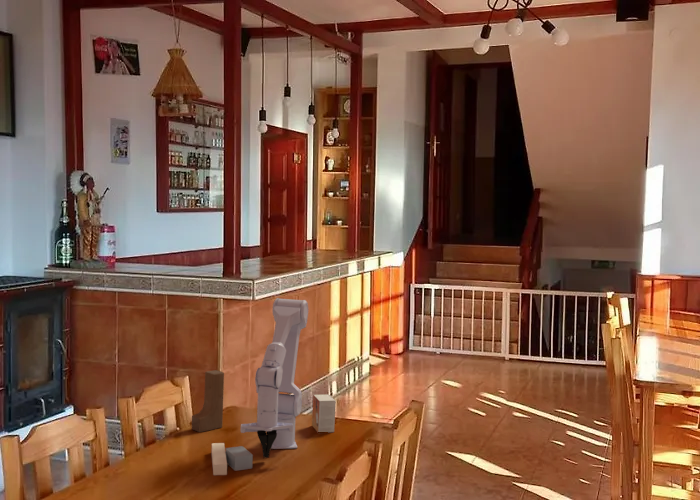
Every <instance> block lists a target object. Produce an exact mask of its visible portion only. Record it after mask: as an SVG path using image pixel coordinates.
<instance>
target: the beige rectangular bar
mask: <svg viewBox="0 0 700 500" xmlns="http://www.w3.org/2000/svg"><path fill="white" fill-rule="evenodd" d="M225 452H226V447H225V442H215V443H214V442H213V443H211V463H212V475H213V476H227V475H228V464H227V460H226V453H225Z"/></svg>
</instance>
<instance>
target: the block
mask: <svg viewBox="0 0 700 500" xmlns="http://www.w3.org/2000/svg"><path fill="white" fill-rule="evenodd" d="M225 453H226V460H227V466H229V467H231V469H232V470H233V471H243V470H248V469H253V457H254V455H253V454H252V453H251V452H250V451H249V450H247V449H246V448H245V447H244V446H243V445H239V446H232V447H225Z"/></svg>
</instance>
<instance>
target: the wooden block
mask: <svg viewBox="0 0 700 500" xmlns="http://www.w3.org/2000/svg"><path fill="white" fill-rule="evenodd" d="M224 382H225V373H224V372H223V371H220V370H216V369H215V370H207V371H205V372H204V394H203V395H204V396H203V397H204V399H203V400H204V401H203V404H202V409H201V410H200V411H199V412H198V413H196V414H193V415H191V430H192V431H196V432H197V433H202V432H207V431H208V432H209V431H211V430H218V429H220V428H222V427H223V422H224V421H223V417H224V388H225V387H224V386H225V385H224V384H225V383H224Z"/></svg>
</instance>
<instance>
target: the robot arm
mask: <svg viewBox="0 0 700 500" xmlns="http://www.w3.org/2000/svg"><path fill="white" fill-rule="evenodd" d="M308 304H309V303H308V301H307V300H306V299H303V300H302V299H288V298H280V297H276V299H275V300H274V301H273V304H272V316H273V319H274V320H273V321H274V322H275V325H274V331H273V336H272V341H271V343H269V344H268V345H267V347H266V349H265V353H264V356H263V360H262V362H261V366H260V367H258V368H257V369H256V371H255V377H254V382H255V389H256V390H255V391H256V393H257V404H256V405H257V408H256V409H257V411H256V412H257V414H256V422H251V423H250V422H248V423H241V424H240V433H242V434H244V433H255V432H256V434H257V437H258V439H259V442H260V445H261V448H262V455H263V456H262V457H263V459H268V458H269V457H270V454H271V453H270V452H271V450H273V449H274V450H277V449H283V450H284V449H297V448H298V445H297V442H296V440H295V439H296V417H298V416H299V415H300V414H301V410H302V408H303V399H302V398H303V397H302V396H303V393H302V390H301V389H300V388H299V387H298V386H297V385H296V384H295V376H296V369H297V368H296V367H297V359H298V352H299V351H298V350H299V343H300V335H301V331H302V330H303V329H304V328H307V324H308V318H309V305H308ZM287 393H288V394H287Z"/></svg>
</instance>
